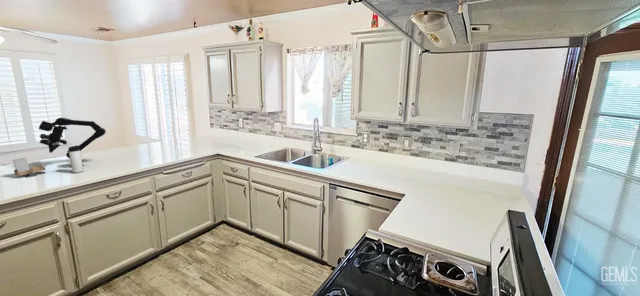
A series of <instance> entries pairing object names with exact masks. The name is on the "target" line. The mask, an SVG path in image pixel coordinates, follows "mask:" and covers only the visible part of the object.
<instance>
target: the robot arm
mask: <svg viewBox="0 0 640 296" xmlns="http://www.w3.org/2000/svg"><path fill="white" fill-rule="evenodd" d="M67 126H82V127H83V126H85V127H91V128H92V130H93V131H95V132H94V133H93V134H92V135H91V136H89V137H88V138H87V139H86V140H84V141H83V142H82V143H80V144H79V145H78V146H79V149H80V152H81V151H82V150H83V149H85V148H86V147H87V146H89V145H90V144H92V143H93V142H94V141H95V140H96V139H99V138H101V137H103V136H104V135H105V134H107V133H106V132H107V131H106V129H105V128H104V127H102V126H100V125H99V124H97V123H96V122H95V121H94V120H93V121H92V120H79V119H78V120H77V119H71V118H66V117H57V118H55V121H54V122H53V121H52V122H48V121H45V120H42V121H41V123H40V124H39V127H38V130H41V131H45V132H50V131H52V132H50V133H48V135H47V134H46V133H41V134H40V135H39V138H40V139H41V140H39V143H40V144H42V145H46V146H48V151H49V153H50V154H51V153H53V152H54V151H55V150H56V149H57V148H59V147H60V146H61V144H62V145H67V144H68V141H67V140H65V139H62V138H63V137H64V136H63V134H64V131H65V130H68V127H67ZM65 155H66V157H67V158H68V159H70V156H69V150H67V151H66V154H65ZM81 160H82V158H81ZM82 161H83V160H82ZM82 165H83V166H85V164H84V163H82ZM70 168H72V166H71V165H70Z"/></svg>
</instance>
